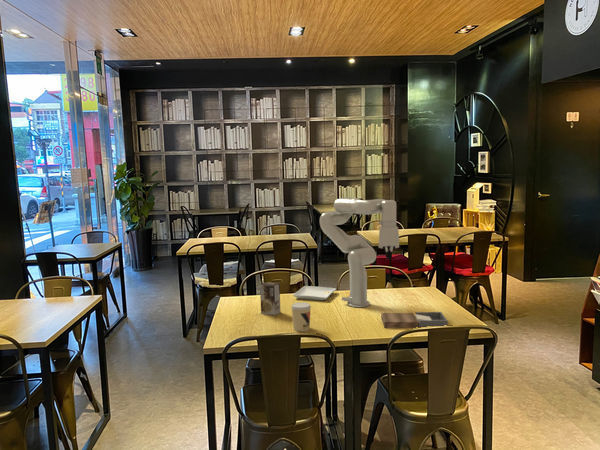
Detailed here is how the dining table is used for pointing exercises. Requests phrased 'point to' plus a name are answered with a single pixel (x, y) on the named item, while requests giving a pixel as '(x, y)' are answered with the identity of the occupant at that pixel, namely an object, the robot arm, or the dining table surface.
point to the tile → (422, 318)
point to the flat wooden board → (399, 320)
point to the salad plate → (314, 293)
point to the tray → (432, 319)
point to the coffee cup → (301, 316)
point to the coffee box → (270, 298)
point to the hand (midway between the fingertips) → (388, 258)
